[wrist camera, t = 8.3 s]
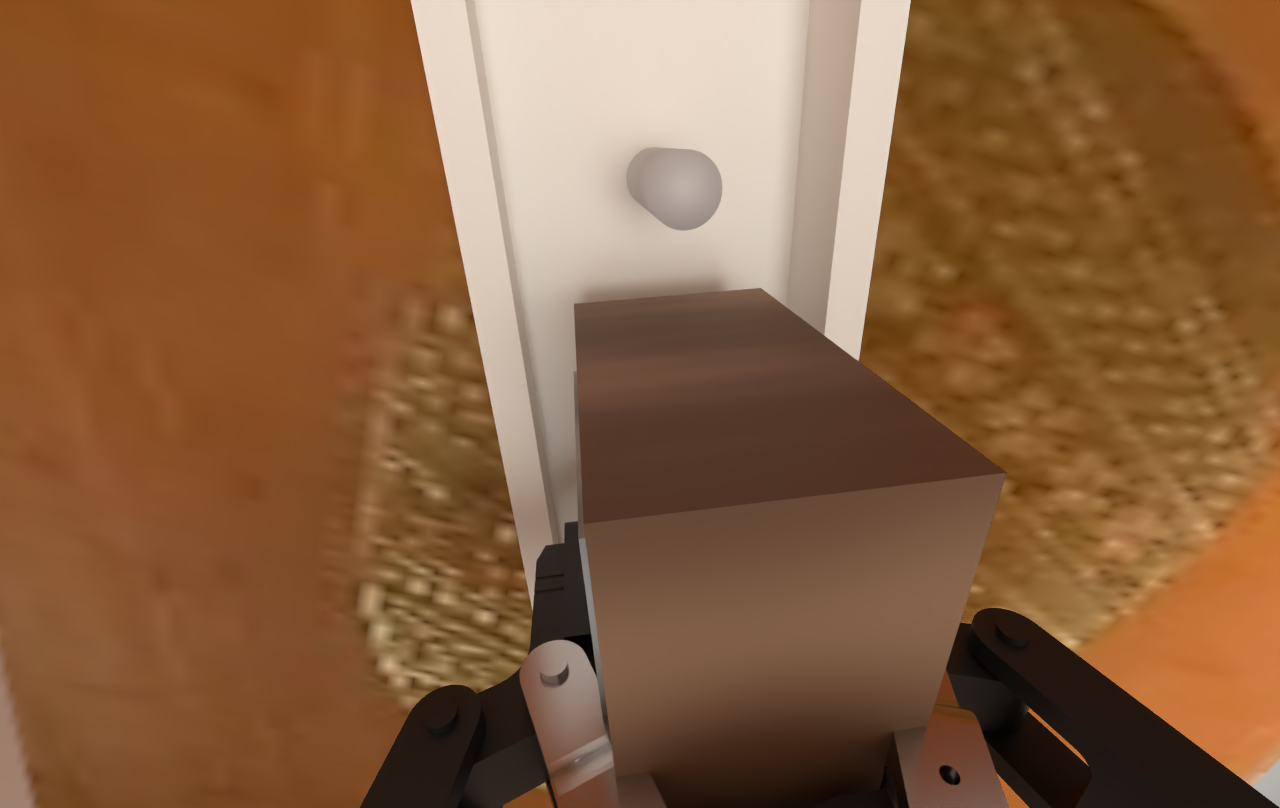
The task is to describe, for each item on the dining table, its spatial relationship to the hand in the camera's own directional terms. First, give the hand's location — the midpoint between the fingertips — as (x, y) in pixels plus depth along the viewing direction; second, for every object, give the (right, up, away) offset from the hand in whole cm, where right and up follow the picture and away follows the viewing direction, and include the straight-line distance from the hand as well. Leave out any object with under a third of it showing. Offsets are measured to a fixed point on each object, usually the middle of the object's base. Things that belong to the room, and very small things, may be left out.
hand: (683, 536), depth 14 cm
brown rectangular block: (0, +1, +1) cm, 1 cm away
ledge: (-1, +2, +5) cm, 5 cm away
